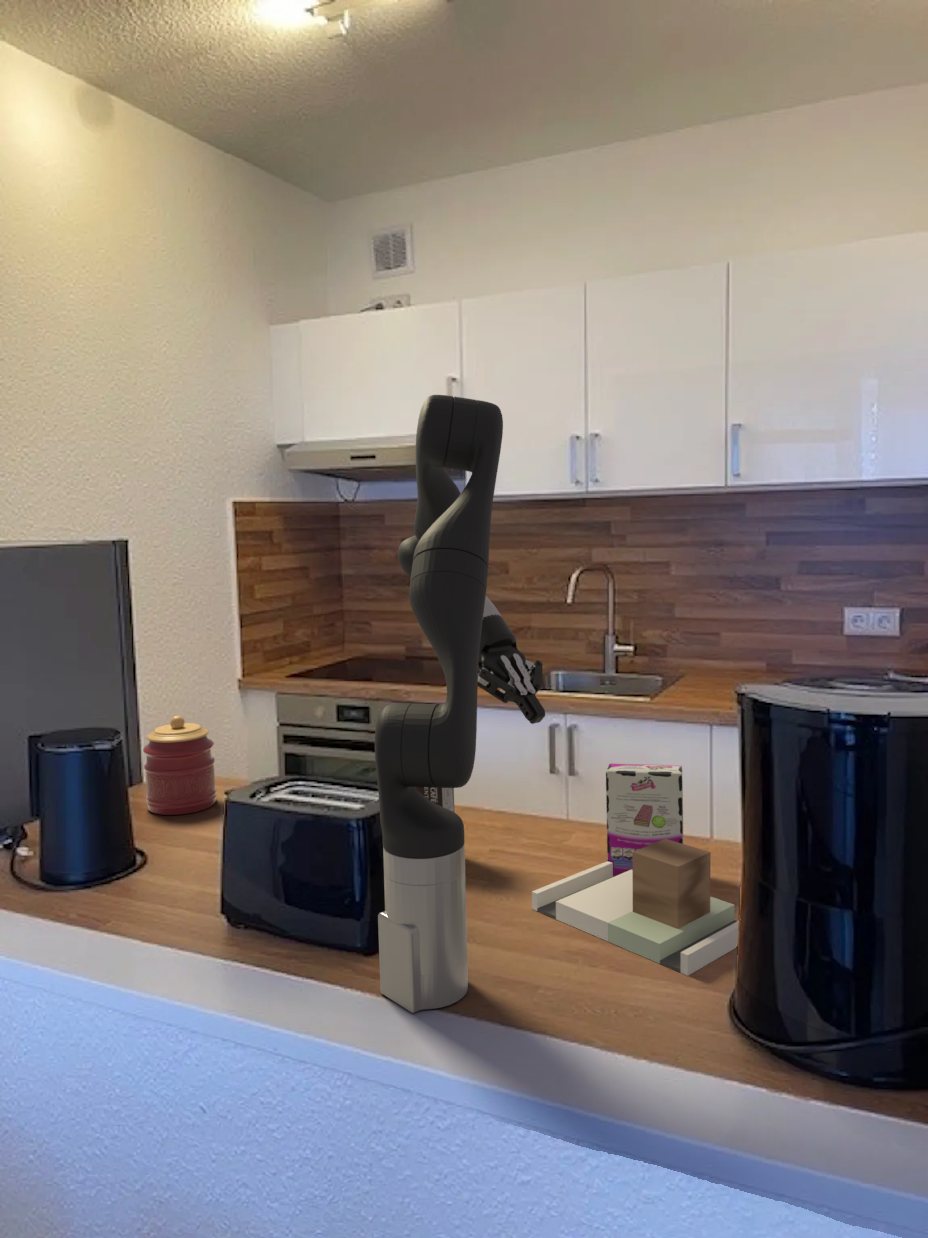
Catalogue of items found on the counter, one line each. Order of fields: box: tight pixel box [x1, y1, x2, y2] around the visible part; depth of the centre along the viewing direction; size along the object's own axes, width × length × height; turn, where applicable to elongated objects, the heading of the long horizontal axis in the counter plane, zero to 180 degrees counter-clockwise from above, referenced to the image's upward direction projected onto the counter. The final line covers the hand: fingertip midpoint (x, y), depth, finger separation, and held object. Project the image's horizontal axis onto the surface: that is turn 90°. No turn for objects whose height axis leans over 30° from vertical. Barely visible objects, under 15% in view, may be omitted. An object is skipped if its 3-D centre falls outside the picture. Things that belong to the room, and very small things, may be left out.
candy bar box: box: [605, 763, 684, 877], centre depth 136 cm, size 11×5×16 cm, turn 76°
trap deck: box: [531, 861, 739, 976], centre depth 121 cm, size 16×26×2 cm, turn 41°
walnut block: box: [632, 839, 712, 929], centre depth 117 cm, size 7×7×8 cm
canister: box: [142, 715, 217, 816], centre depth 175 cm, size 13×13×18 cm
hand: (539, 719), depth 131 cm, fingers closed
